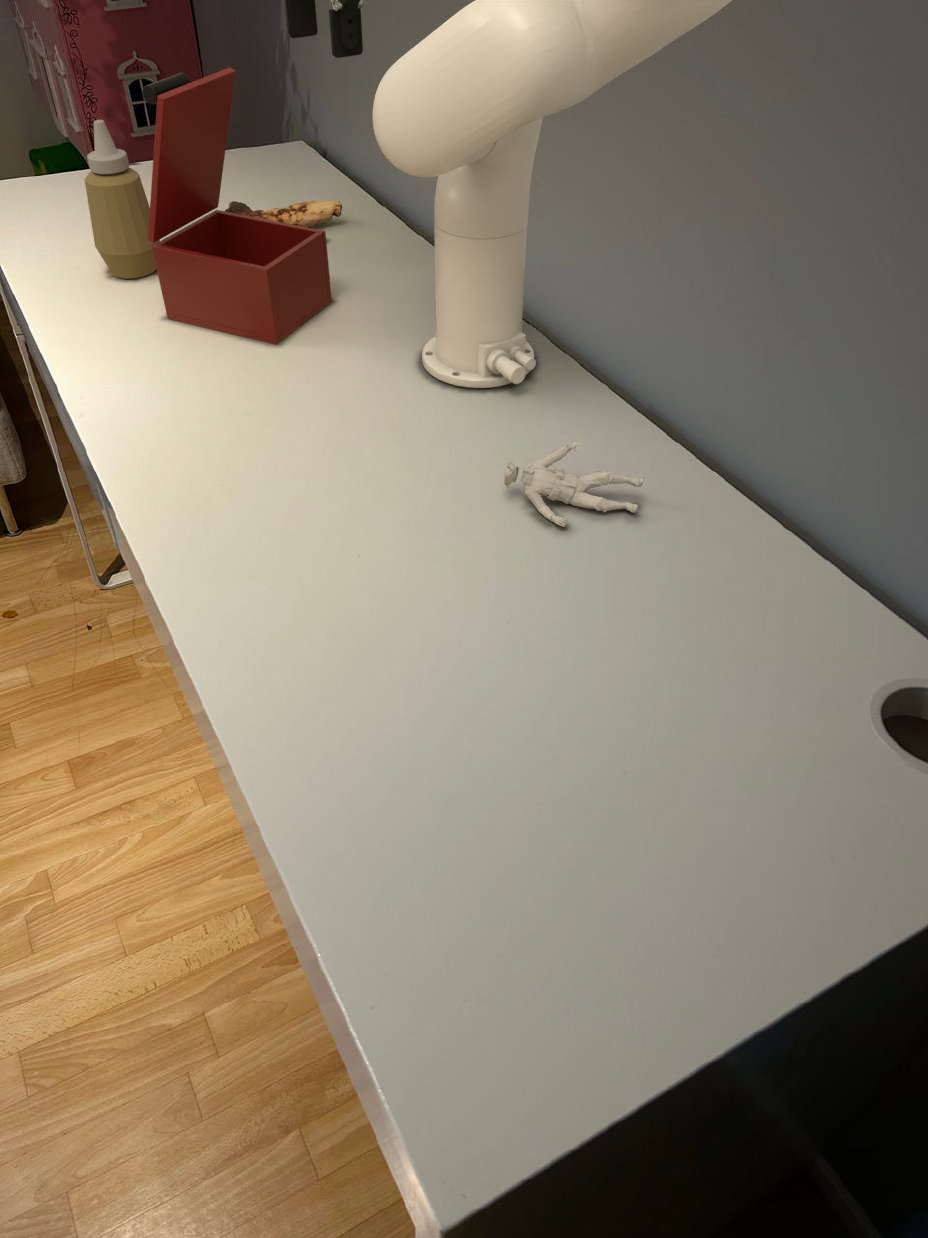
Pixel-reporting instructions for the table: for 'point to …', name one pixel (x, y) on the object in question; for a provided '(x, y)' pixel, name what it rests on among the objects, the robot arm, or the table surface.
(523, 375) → the robot arm
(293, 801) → the table surface
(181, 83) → the lid
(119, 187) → the squeeze bottle
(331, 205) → the lashed bone hook
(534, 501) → the soldier figure
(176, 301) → the box
